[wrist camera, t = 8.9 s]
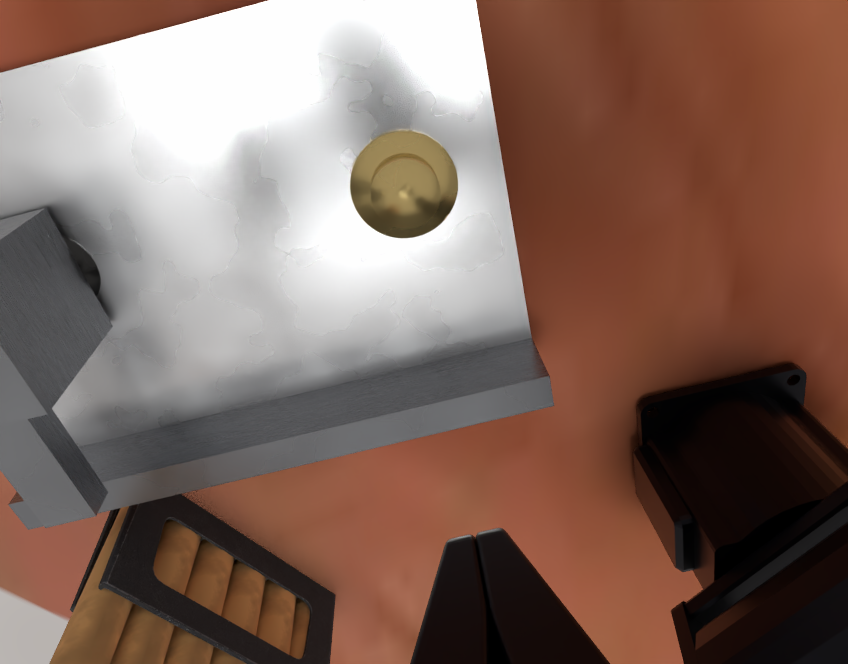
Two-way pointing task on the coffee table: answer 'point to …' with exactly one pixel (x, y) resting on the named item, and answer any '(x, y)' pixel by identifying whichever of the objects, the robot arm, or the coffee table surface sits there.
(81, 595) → the ammunition clip
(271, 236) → the hole plate
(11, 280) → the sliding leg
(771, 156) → the coffee table surface
